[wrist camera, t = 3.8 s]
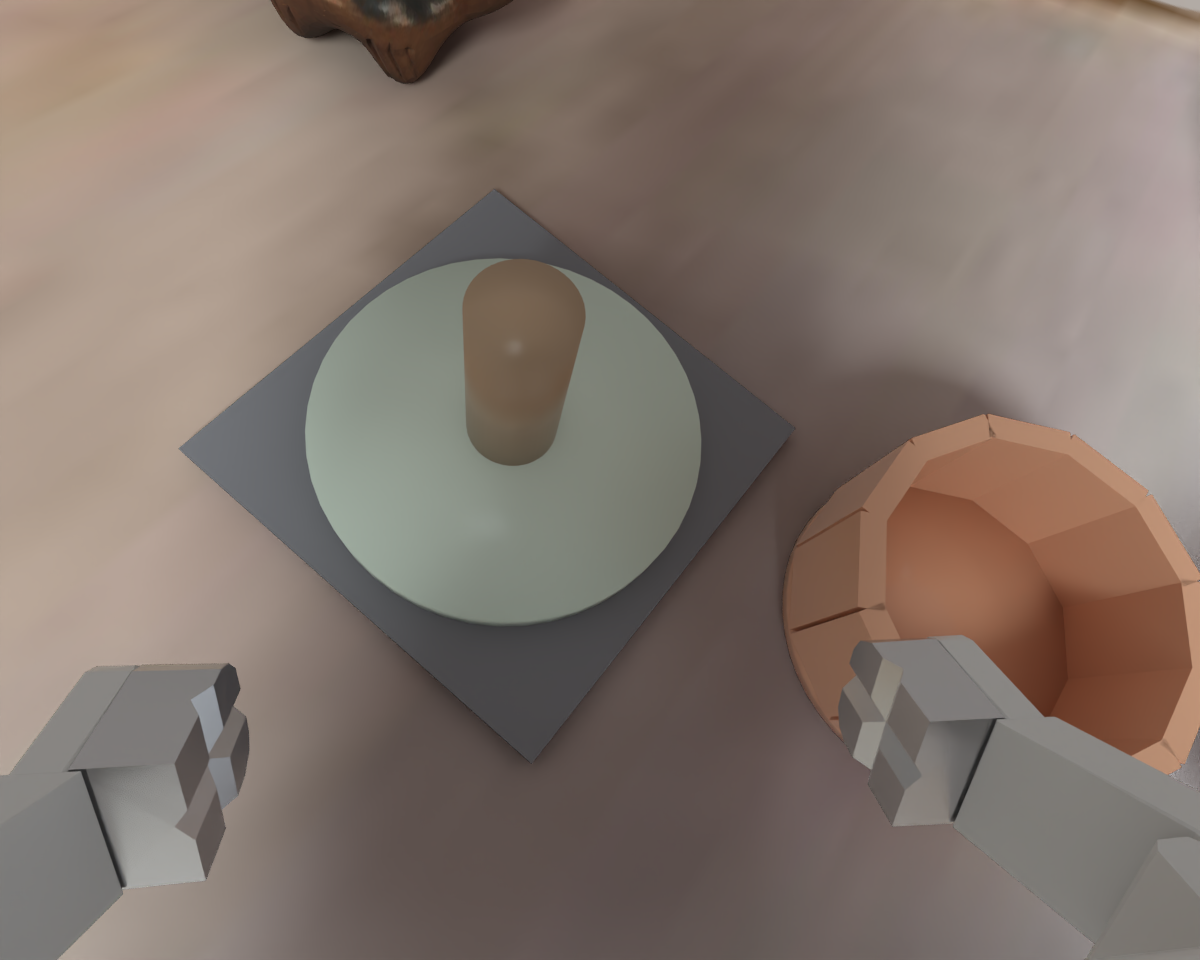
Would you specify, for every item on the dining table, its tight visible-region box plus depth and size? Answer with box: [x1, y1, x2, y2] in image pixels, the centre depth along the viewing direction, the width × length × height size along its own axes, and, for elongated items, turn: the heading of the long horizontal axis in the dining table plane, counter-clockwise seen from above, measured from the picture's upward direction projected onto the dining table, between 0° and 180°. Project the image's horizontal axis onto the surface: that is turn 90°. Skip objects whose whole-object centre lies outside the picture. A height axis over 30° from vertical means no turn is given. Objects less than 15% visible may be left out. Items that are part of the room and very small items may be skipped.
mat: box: [179, 189, 795, 763], centre depth 25 cm, size 15×15×1 cm
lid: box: [305, 258, 701, 626], centre depth 21 cm, size 13×13×8 cm
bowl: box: [782, 414, 1200, 775], centre depth 23 cm, size 11×11×6 cm
